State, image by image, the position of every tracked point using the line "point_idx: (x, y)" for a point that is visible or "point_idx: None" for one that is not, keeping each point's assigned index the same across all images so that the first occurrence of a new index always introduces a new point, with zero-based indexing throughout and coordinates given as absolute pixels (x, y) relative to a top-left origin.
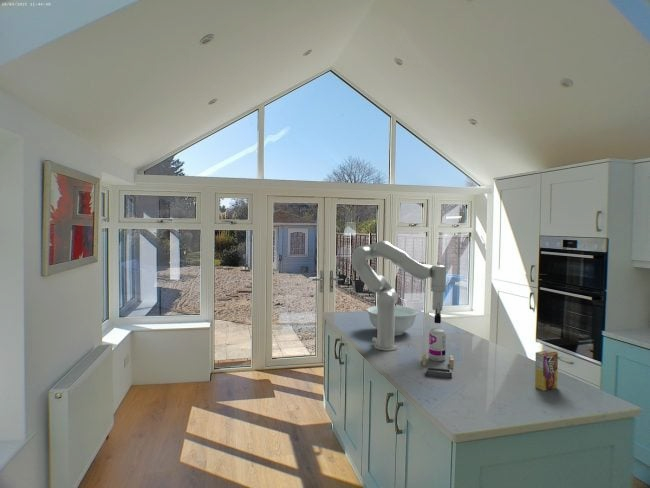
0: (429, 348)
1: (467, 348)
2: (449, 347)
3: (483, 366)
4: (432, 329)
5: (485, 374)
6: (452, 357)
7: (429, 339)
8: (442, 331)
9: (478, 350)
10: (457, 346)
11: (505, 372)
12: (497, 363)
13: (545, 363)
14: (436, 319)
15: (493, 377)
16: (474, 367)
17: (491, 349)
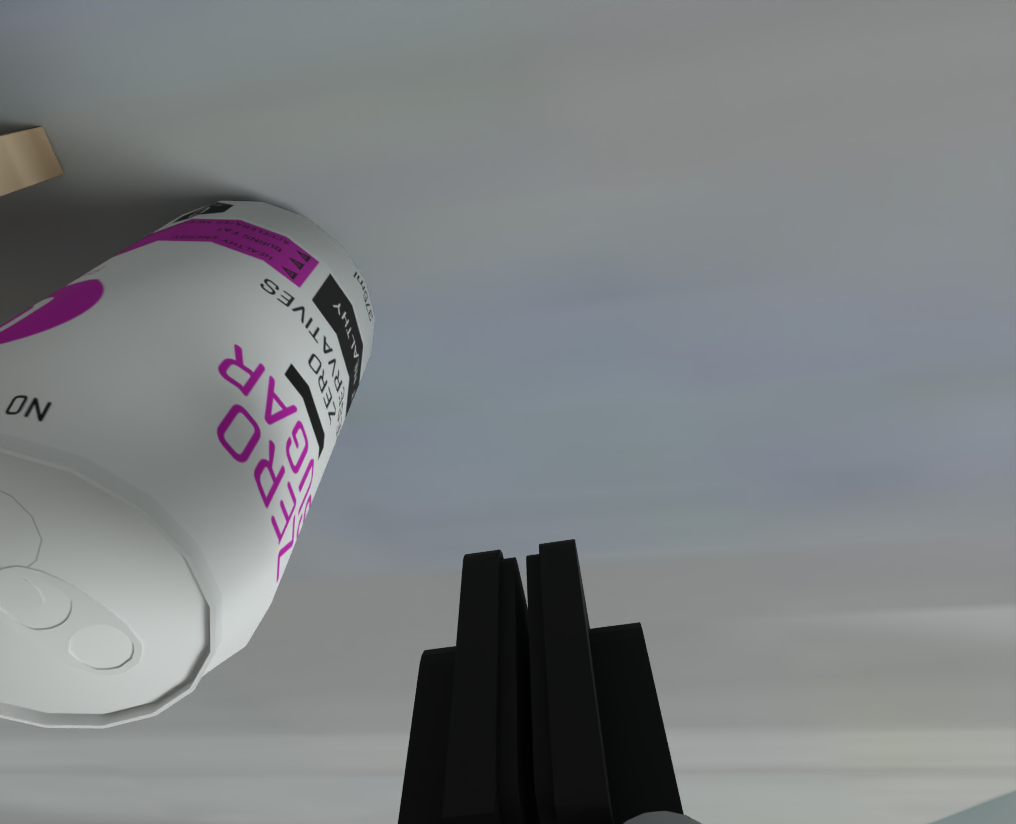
0: (108, 260)
1: (909, 574)
2: (910, 392)
3: (313, 711)
4: (29, 475)
5: None
6: None
7: (23, 314)
8: (21, 689)
9: (851, 663)
10: (983, 475)
11: (260, 821)
12: None
13: None
14: (413, 718)
15: (72, 767)
16: (231, 658)
17: (921, 747)
